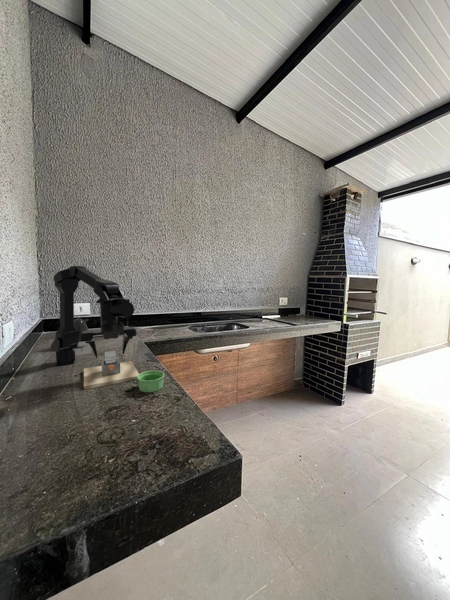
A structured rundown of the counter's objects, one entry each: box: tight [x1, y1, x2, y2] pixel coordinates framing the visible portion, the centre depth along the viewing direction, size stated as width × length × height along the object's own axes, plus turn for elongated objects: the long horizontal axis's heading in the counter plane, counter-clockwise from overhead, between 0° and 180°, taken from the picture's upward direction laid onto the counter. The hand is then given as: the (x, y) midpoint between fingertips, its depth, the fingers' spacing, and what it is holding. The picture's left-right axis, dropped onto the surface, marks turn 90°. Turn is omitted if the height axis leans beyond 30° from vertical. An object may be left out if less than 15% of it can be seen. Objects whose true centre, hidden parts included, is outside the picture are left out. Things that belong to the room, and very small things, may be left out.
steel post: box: [104, 350, 117, 365], centre depth 92 cm, size 4×4×7 cm
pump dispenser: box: [74, 318, 89, 348], centre depth 130 cm, size 10×10×15 cm
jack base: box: [83, 358, 140, 390], centre depth 92 cm, size 18×18×5 cm
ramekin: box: [136, 369, 165, 393], centre depth 82 cm, size 9×9×4 cm
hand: (110, 355), depth 92 cm, fingers open, 9 cm apart
